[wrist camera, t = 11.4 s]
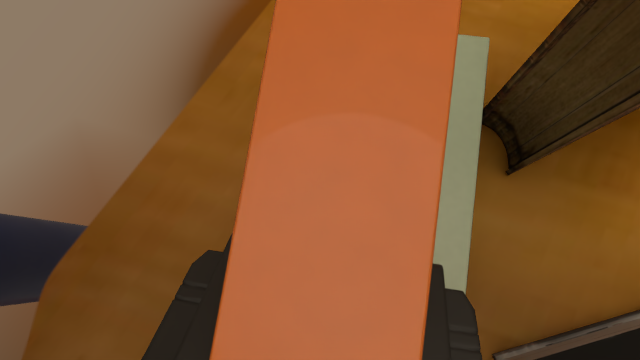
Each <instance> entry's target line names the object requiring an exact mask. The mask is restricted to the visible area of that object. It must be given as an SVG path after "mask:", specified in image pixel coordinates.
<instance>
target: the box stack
mask: <svg viewBox="0 0 640 360" xmlns="http://www.w3.org/2000/svg"><path fill="white" fill-rule="evenodd" d="M488 50H489V38H487V37H477V36H468V35H459V34H458V40H457V49H456V58H455V67H454V76H453V85H452V94H451V103H450V112H449V121H448V130H447V139H446V148H445V157H444V166H443V175H442V184H441V193H440V202H439V211H438V220H437V229H436V238H435V247H434V256H433V263H434V264H440V265H442V266H443V270H444V280H445V288H448V289H454V290H460V291H463V292H464V294H465V295H466V285H467V274H468V264H469V253H470V242H471V231H472V221H473V210H474V199H475V189H476V178H477V167H478V157H479V146H480V135H481V125H482V114H483V103H484V93H485V82H486V71H487V61H488Z"/></svg>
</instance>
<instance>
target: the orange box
mask: <svg viewBox="0 0 640 360" xmlns="http://www.w3.org/2000/svg"><path fill="white" fill-rule="evenodd" d="M461 4H462V0H276V3H275V9H274V14H273V19H272V25H271V30H270V36H269V41H268V46H267V52H266V57H265V62H264V68H263V73H262V79H261V84H260V89H259V95H258V100H257V106H256V111H255V116H254V122H253V127H252V132H251V138H250V143H249V149H248V154H247V159H246V165H245V170H244V175H243V181H242V186H241V192H240V197H239V202H238V208H237V213H236V219H235V224H234V229H233V235H232V240H231V245H230V251H229V256H228V262H227V267H226V272H225V278H224V283H223V289H222V294H221V299H220V305H219V310H218V315H217V321H216V326H215V332H214V337H213V342H212V348H211V353H210V358H209V360H422V355H423V346H424V337H425V328H426V319H427V310H428V301H429V292H430V283H431V274H432V265H433V256H434V247H435V238H436V229H437V220H438V211H439V202H440V193H441V184H442V175H443V166H444V157H445V148H446V139H447V130H448V121H449V112H450V103H451V94H452V85H453V76H454V67H455V58H456V49H457V40H458V31H459V22H460V13H461Z"/></svg>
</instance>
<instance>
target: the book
mask: <svg viewBox="0 0 640 360" xmlns="http://www.w3.org/2000/svg"><path fill="white" fill-rule="evenodd" d="M638 108H640V0H580V1H579V2H578V3H577V4H576V5H575V7H574V8H573V9H572V10H571V11H570V12H569V13H568V14H567V16H566V17H565V18H564V19H563V20H562V21H561V22H560V23H559V25H558V26H557V27H556V28H555V29H554V30H553V31H552V32H551V34H550V35H549V36H548V37H547V38H546V39H545V40H544V42H543V43H542V44H541V45H540V46H539V47H538V48H537V49H536V51H535V52H534V53H533V54H532V55H531V56H530V57H529V58H528V60H527V61H526V62H525V63H524V64H523V65H522V66H521V67H520V69H519V70H518V71H517V72H516V73H515V74H514V75H513V76H512V78H511V79H510V80H509V81H508V82H507V83H506V84H505V85H504V87H503V88H502V89H501V90H500V91H499V92H498V93H497V95H496V96H495V97H494V98H493V99H492V100H491V101H490V102H489V104H488V105H487V106H486V107H485V108H484V109H483V114H482V124H484V125H486V126H488V127H490V128H492V129H493V130H494V131H495V132H496V133H497V134H498V135H499V136H500V138H501V139H502V141H503V143H504V145H505V147H506V150H507V154H508V160H509V170H507V171H506V173H507V175H510V174H512V173H514V172H516V171H517V170H519V169H521V168H523V167H525V166H527V165H529V164H531V163H533V162H535V161H537V160H539V159H541V158H543V157H545V156H547V155H549V154H551V153H553V152H555V151H556V150H558V149H560V148H562V147H564V146H566V145H568V144H570V143H572V142H574V141H576V140H578V139H580V138H582V137H584V136H586V135H588V134H590V133H592V132H593V131H595V130H597V129H599V128H601V127H603V126H605V125H607V124H609V123H611V122H613V121H615V120H617V119H619V118H621V117H623V116H625V115H627V114H629V113H630V112H632V111H634V110H636V109H638Z"/></svg>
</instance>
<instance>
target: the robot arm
mask: <svg viewBox="0 0 640 360" xmlns="http://www.w3.org/2000/svg"><path fill="white" fill-rule="evenodd" d="M232 235H233V233H232ZM232 235H231V237H230V239H229V241H228V243H227V245H226V247H225V249H224V252H218V251H212V250H208V251H207V252H205V253H204V254H203V255H202V256H201V257H200V258H198V259H197V260H196V261H195V262H194V263H192V265H191V267H190V269H189V271H188V272H187V274H186V276H185V278H184V280H183V284H182V285H181V286H180V288H179V290H178V291H177V293H176V295H175V299H174V300H173V301H172V303H171V305H170V307H169V309H168V311H167V312H166V314H165V316H164V318H163V320H162V322H161V324H160V326H159V328H158V330H157V331H156V333H155V335H154V337H153V339H152V341H151V343H150V345H149V347H148V349H147V350H146V352H145V354H144V356H143V357H142V359H141V360H209V358H210V353H211V348H212V342H213V337H214V332H215V326H216V321H217V315H218V310H219V305H220V299H221V294H222V289H223V283H224V278H225V272H226V267H227V262H228V256H229V251H230V245H231V240H232ZM422 360H482V355H481V353H480V341H479V335H478V328H477V322H476V315H475V310H474V308H473V307H472V305H471V303H470V302H469V300H468V299H467V297H466V295H465V294H464V292H463V291H460V290H454V289H448V288H445V280H444V270H443V266H442V265H440V264H434V263H433V265H432V274H431V283H430V292H429V301H428V310H427V319H426V328H425V337H424V346H423V355H422Z"/></svg>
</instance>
